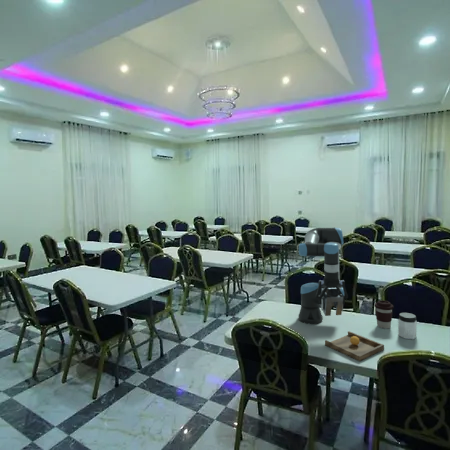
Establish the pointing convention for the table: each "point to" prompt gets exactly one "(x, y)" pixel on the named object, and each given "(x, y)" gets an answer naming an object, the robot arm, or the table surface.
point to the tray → (355, 346)
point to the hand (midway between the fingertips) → (331, 309)
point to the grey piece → (332, 301)
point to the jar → (407, 325)
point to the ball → (354, 340)
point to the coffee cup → (384, 314)
